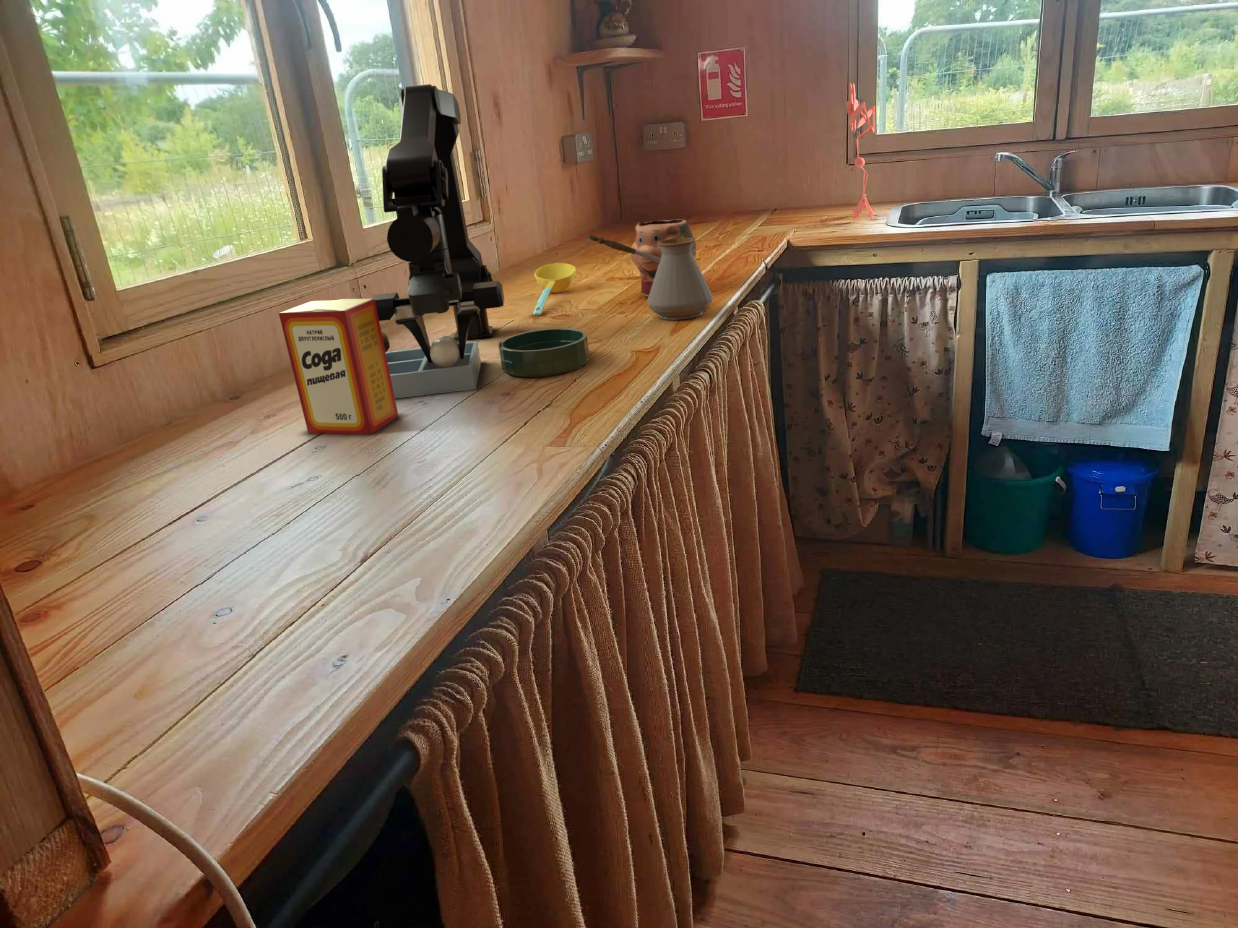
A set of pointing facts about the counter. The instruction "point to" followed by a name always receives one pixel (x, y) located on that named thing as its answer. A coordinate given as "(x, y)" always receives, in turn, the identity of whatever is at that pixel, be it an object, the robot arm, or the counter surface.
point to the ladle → (553, 281)
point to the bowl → (544, 352)
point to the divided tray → (432, 372)
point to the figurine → (854, 112)
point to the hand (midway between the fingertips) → (446, 360)
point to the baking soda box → (340, 365)
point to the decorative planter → (656, 246)
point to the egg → (444, 351)
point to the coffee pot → (673, 279)
